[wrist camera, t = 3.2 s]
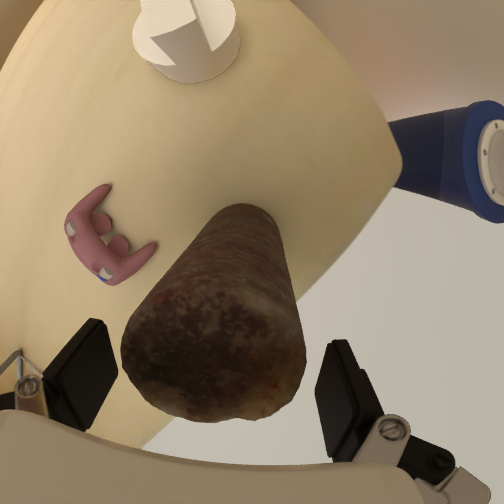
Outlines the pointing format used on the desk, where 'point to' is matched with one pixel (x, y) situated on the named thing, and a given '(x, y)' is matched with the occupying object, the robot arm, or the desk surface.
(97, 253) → the video game controller
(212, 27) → the base with upright slab
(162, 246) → the desk surface
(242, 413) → the rusty brown cylinder
